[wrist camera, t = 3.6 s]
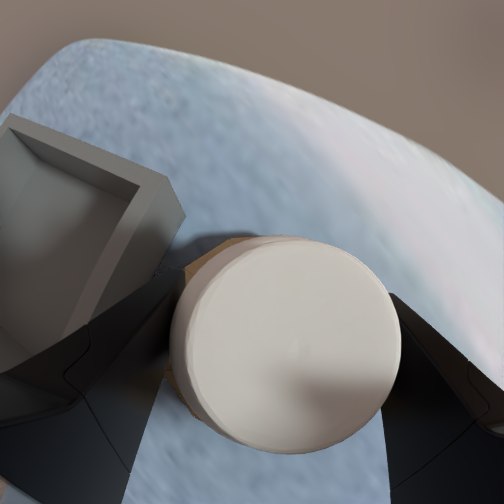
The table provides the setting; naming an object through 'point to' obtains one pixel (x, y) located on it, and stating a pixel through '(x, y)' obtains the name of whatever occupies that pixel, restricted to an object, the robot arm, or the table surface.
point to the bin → (72, 234)
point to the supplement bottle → (285, 344)
